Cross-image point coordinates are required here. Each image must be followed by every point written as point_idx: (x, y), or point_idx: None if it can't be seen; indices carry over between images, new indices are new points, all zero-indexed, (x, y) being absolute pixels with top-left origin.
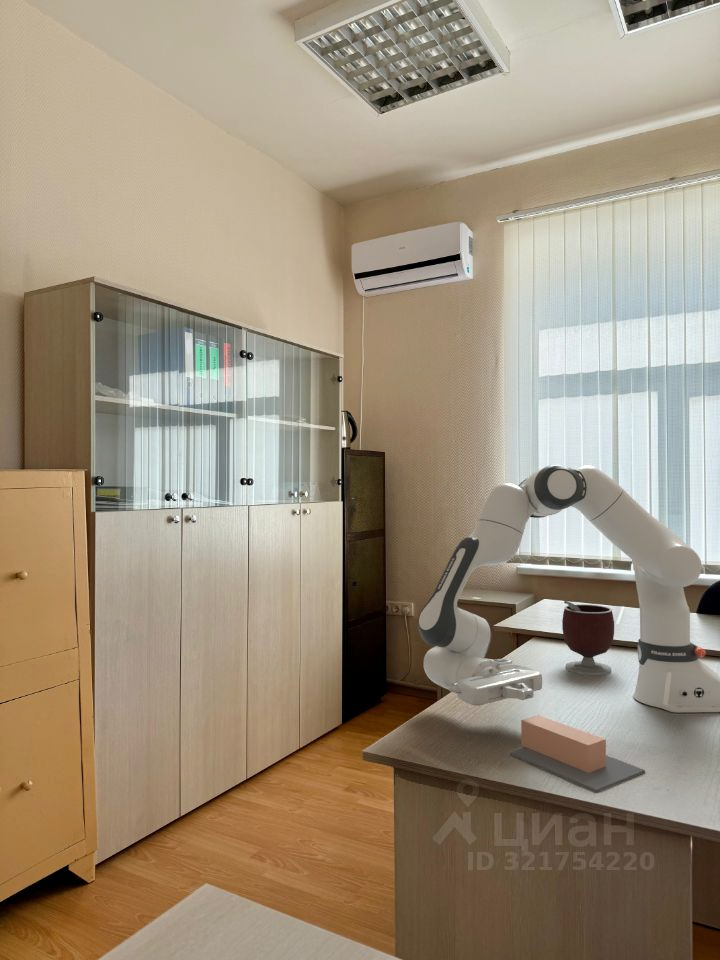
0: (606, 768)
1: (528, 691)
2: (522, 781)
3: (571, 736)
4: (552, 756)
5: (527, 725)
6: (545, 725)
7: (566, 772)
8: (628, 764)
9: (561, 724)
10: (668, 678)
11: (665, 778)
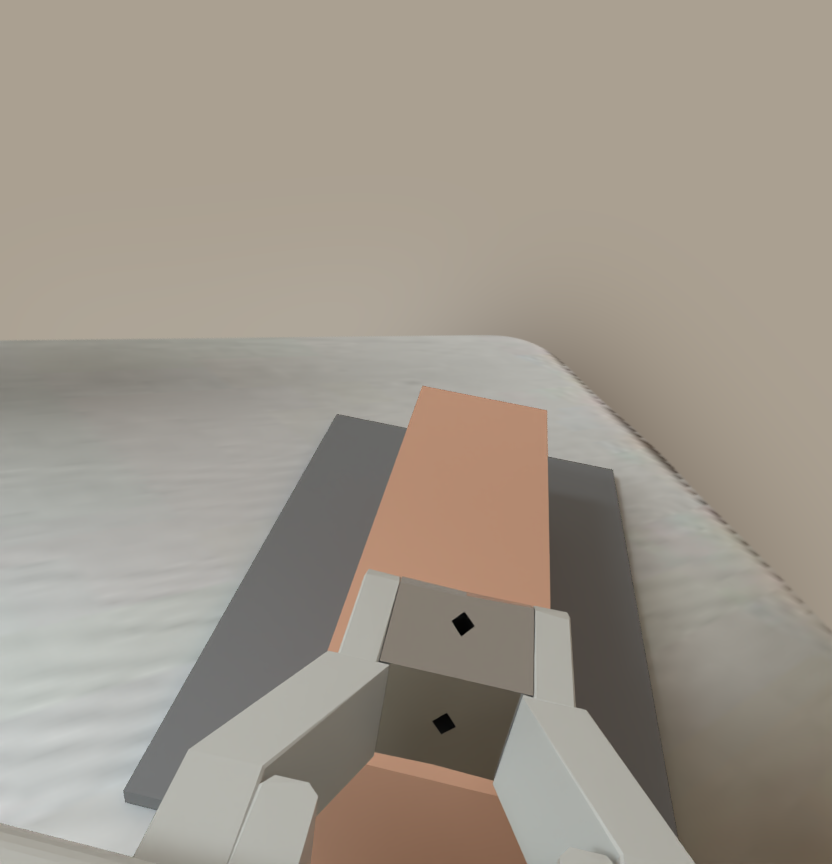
0: None
1: (459, 593)
2: (829, 677)
3: (519, 466)
4: None
5: None
6: None
7: (594, 562)
8: (325, 447)
9: (382, 544)
10: None
11: (337, 390)
